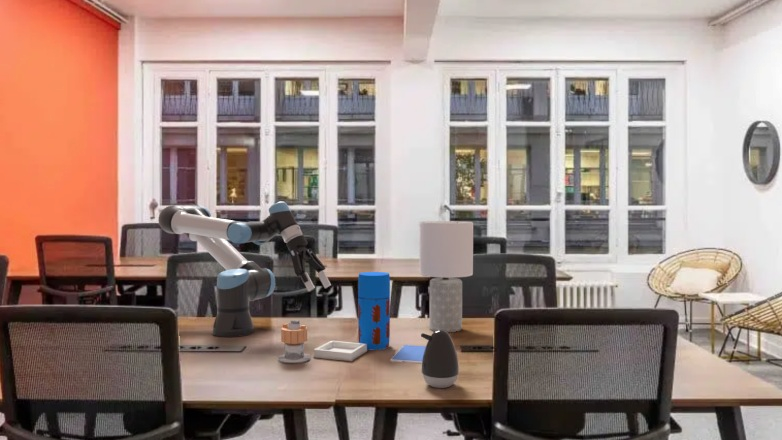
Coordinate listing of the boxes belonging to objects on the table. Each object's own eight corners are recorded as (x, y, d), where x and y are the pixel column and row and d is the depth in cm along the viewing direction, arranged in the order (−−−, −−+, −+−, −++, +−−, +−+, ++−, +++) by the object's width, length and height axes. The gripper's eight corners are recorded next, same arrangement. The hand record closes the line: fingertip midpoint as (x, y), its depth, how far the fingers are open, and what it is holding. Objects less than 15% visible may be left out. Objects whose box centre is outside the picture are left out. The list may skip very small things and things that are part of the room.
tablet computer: (429, 366, 187) (429, 361, 187) (389, 363, 190) (389, 358, 190) (439, 350, 206) (439, 346, 206) (403, 348, 209) (403, 344, 209)
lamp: (481, 327, 240) (481, 222, 238) (457, 337, 223) (458, 223, 221) (434, 321, 251) (435, 220, 249) (409, 330, 234) (409, 222, 232)
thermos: (394, 344, 212) (395, 272, 211) (381, 351, 202) (381, 276, 201) (366, 341, 217) (367, 271, 216) (352, 347, 207) (352, 274, 206)
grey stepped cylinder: (272, 361, 189) (271, 322, 189) (288, 354, 198) (288, 316, 198) (300, 365, 186) (300, 325, 185) (315, 357, 195) (315, 318, 194)
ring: (276, 342, 189) (276, 326, 189) (289, 336, 197) (289, 321, 197) (299, 344, 187) (299, 328, 186) (311, 338, 194) (311, 323, 194)
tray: (313, 357, 195) (313, 349, 195) (331, 347, 207) (331, 340, 207) (350, 361, 190) (350, 353, 190) (366, 351, 202) (366, 343, 202)
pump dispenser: (418, 380, 171) (418, 326, 170) (454, 379, 172) (455, 325, 171) (423, 391, 161) (423, 334, 160) (462, 390, 162) (462, 333, 161)
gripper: (285, 234, 219) (312, 285, 215) (317, 234, 243) (341, 280, 239) (269, 244, 221) (296, 296, 217) (302, 243, 245) (326, 290, 241)
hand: (320, 288), depth 228 cm, fingers open, 13 cm apart
